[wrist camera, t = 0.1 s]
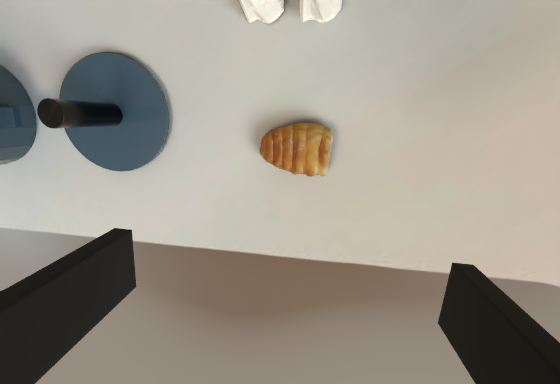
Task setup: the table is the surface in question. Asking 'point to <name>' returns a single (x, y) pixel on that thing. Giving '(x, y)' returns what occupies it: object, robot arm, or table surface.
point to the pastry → (299, 148)
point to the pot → (15, 119)
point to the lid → (110, 111)
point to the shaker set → (269, 6)
